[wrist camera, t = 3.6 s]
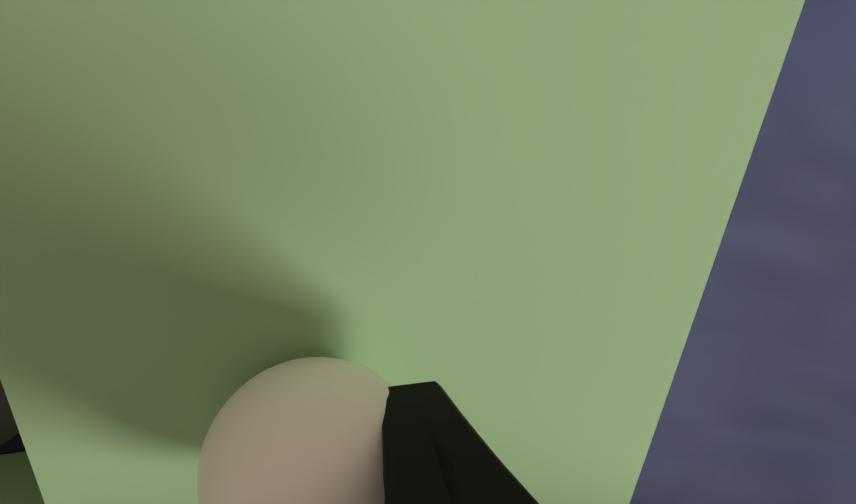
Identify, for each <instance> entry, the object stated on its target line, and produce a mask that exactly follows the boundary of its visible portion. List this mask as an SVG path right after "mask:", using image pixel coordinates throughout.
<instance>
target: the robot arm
mask: <svg viewBox="0 0 856 504" xmlns="http://www.w3.org/2000/svg"><path fill="white" fill-rule="evenodd" d="M388 389H389V394H388V397H387V400H386V408H385V414H384V419H383V423H382V444H383V480H384V492H385V503H384V504H539V503H538V502H537V501H536V500H535V499H534V497H533V496H532V495H531V494H530V493H529V492H528V491H527V490H526V489H525V487H524V486H523V485H522V484H521V483H520V482H519V481H518V480H517V478H516V477H515V476H514V475H513V474H512V473H511V472H510V471H509V470H508V468H507V467H506V466H505V465H504V464H503V463H502V462H501V460H500V459H499V458H498V457H497V456H496V455H495V453H494V452H493V451H492V450H491V449H490V447H489V446H488V445H487V444H486V443H485V441H484V440H483V439H482V438H481V436H480V435H479V434H478V433H477V432H476V430H475V429H474V428H473V427H472V425H471V424H470V423H469V422H468V420H467V419H466V418H465V417H464V415H463V414H462V413H461V411H460V410H459V409H458V408H457V406H456V405H455V404H454V402H453V401H452V400H451V398H450V397H449V396H448V395H447V393H446V392H445V390H444V389H443V388H442V386H441V385H439V384H438V383H437V382H436V381H430V382H422V383H414V384H406V385H398V386H390V387H388Z"/></svg>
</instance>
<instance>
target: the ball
mask: <svg viewBox="0 0 856 504" xmlns="http://www.w3.org/2000/svg"><path fill="white" fill-rule="evenodd" d="M390 386H392V385H391V384H390V383H388V382H387V381H386V380H385V379H384V378H382V377H381V376H380V375H378V374H376V373H375V372H373V371H371V370H370V369H368V368H366V367H363V366H361V365H359V364H356V363H354V362H351V361H347V360H343V359H338V358H329V357H306V358H299V359H294V360H290V361H287V362H284V363H280V364H278V365H275V366H273V367H271V368H269V369H266V370H264V371H262V372H261V373H259V374H257V375H256V376H254V377H253V378H251V379H250V380H249V381H247V382H246V383H245V384H244V385H242V386H241V387H240V388H239V389H238V390H237V391H236V392H235V393H234V394H233V395H232V396H231V397H230V398H229V399H228V400H227V401H226V403H225V404H224V405H223V407H222V408H221V409H220V411H219V412H218V413H217V415H216V417H215V419H214V421H213V422H212V424H211V426H210V428H209V430H208V433H207V435H206V437H205V440H204V442H203V446H202V450H201V453H200V457H199V463H198V471H197V498H198V504H384V503H385V492H384V480H383V444H382V423H383V419H384V414H385V408H386V400H387V397H388V394H389V389H388V387H390Z"/></svg>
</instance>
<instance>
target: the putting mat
mask: <svg viewBox="0 0 856 504" xmlns="http://www.w3.org/2000/svg"><path fill="white" fill-rule="evenodd" d="M804 1H805V0H0V446H1V445H3V444H4V443H6V442H7V441H9V440H11V439H12V438H13V437H14V436H15V435H17V434H18V433H20V436H21V438H22V441H23V444H24V447H25V450H26V451H24V452H17V453H9V454H2V455H0V504H198V498H197V471H198V463H199V457H200V453H201V450H202V446H203V442H204V440H205V437H206V435H207V433H208V430H209V428H210V426H211V424H212V422H213V421H214V419H215V417H216V415H217V413H218V412H219V411H220V409H221V408H222V407H223V405H224V404H225V403H226V401H227V400H228V399H229V398H230V397H231V396H232V395H233V394H234V393H235V392H236V391H237V390H238V389H239V388H240V387H241V386H242V385H244V384H245V383H246V382H247V381H249V380H250V379H251V378H253V377H254V376H256V375H257V374H259V373H261V372H262V371H264V370H266V369H269V368H271V367H273V366H275V365H278V364H280V363H284V362H287V361H290V360H294V359H299V358H306V357H329V358H338V359H343V360H347V361H351V362H354V363H356V364H359V365H361V366H363V367H366V368H368V369H370V370H371V371H373V372H375V373H376V374H378V375H380V376H381V377H382V378H384V379H385V380H386V381H387V382H388V383H390V384H391V385H392V386H398V385H406V384H414V383H422V382H430V381H436V382H437V383H438V384H439V385H441V386H442V388H443V389H444V390H445V392H446V393H447V395H448V396H449V397H450V398H451V400H452V401H453V402H454V404H455V405H456V406H457V408H458V409H459V410H460V411H461V413H462V414H463V415H464V417H465V418H466V419H467V420H468V422H469V423H470V424H471V425H472V427H473V428H474V429H475V430H476V432H477V433H478V434H479V435H480V436H481V438H482V439H483V440H484V441H485V443H486V444H487V445H488V446H489V447H490V449H491V450H492V451H493V452H494V453H495V455H496V456H497V457H498V458H499V459H500V460H501V462H502V463H503V464H504V465H505V466H506V467H507V468H508V470H509V471H510V472H511V473H512V474H513V475H514V476H515V477H516V478H517V480H518V481H519V482H520V483H521V484H522V485H523V486H524V487H525V489H526V490H527V491H528V492H529V493H530V494H531V495H532V496H533V497H534V499H535V500H536V501H537V502H538V503H539V504H629V503H630V500H631V498H632V495H633V492H634V489H635V486H636V483H637V480H638V477H639V475H640V472H641V469H642V466H643V463H644V460H645V457H646V455H647V452H648V449H649V446H650V443H651V440H652V437H653V434H654V432H655V429H656V426H657V423H658V420H659V417H660V414H661V411H662V409H663V406H664V403H665V400H666V397H667V394H668V391H669V389H670V386H671V383H672V380H673V377H674V374H675V371H676V368H677V366H678V363H679V360H680V357H681V354H682V351H683V348H684V346H685V343H686V340H687V337H688V334H689V331H690V328H691V325H692V323H693V320H694V317H695V314H696V311H697V308H698V305H699V303H700V300H701V297H702V294H703V291H704V288H705V285H706V282H707V280H708V277H709V274H710V271H711V268H712V265H713V262H714V259H715V257H716V254H717V251H718V248H719V245H720V242H721V239H722V237H723V234H724V231H725V228H726V225H727V222H728V219H729V216H730V214H731V211H732V208H733V205H734V202H735V199H736V196H737V194H738V191H739V188H740V185H741V182H742V179H743V176H744V173H745V171H746V168H747V165H748V162H749V159H750V156H751V153H752V151H753V148H754V145H755V142H756V139H757V136H758V133H759V130H760V128H761V125H762V122H763V119H764V116H765V113H766V110H767V107H768V105H769V102H770V99H771V96H772V93H773V90H774V87H775V85H776V82H777V79H778V76H779V73H780V70H781V67H782V64H783V62H784V59H785V56H786V53H787V50H788V47H789V44H790V42H791V39H792V36H793V33H794V30H795V27H796V24H797V21H798V19H799V16H800V13H801V10H802V7H803V4H804Z"/></svg>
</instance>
